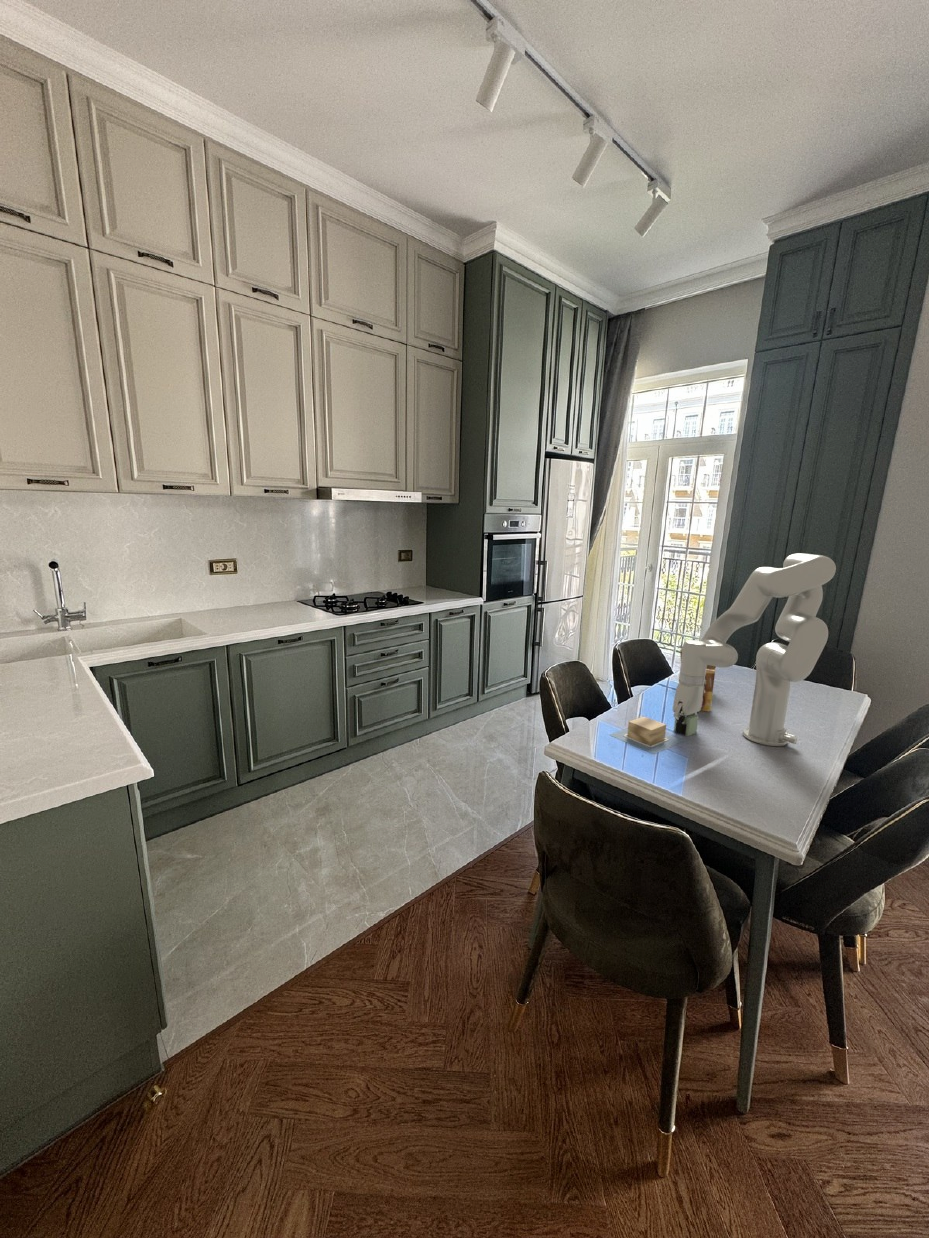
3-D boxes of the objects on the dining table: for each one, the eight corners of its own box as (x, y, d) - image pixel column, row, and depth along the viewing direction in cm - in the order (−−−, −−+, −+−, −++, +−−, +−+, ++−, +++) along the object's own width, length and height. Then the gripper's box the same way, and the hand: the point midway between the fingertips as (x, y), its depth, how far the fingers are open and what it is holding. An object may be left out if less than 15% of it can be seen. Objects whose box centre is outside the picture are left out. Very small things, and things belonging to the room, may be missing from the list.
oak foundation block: (664, 739, 158) (666, 724, 157) (649, 745, 153) (651, 730, 152) (642, 730, 164) (643, 716, 163) (627, 736, 160) (628, 721, 159)
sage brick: (696, 735, 165) (698, 715, 164) (687, 739, 162) (690, 718, 161) (681, 730, 169) (684, 710, 168) (673, 733, 166) (675, 713, 165)
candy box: (710, 708, 191) (715, 669, 188) (710, 712, 187) (715, 672, 184) (684, 704, 195) (689, 665, 192) (684, 707, 191) (689, 668, 188)
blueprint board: (683, 744, 158) (683, 740, 157) (653, 757, 148) (654, 753, 148) (638, 727, 170) (638, 723, 170) (608, 738, 161) (608, 734, 160)
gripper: (694, 672, 170) (687, 723, 173) (666, 680, 160) (659, 734, 163) (716, 678, 164) (709, 730, 168) (688, 686, 154) (681, 742, 157)
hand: (684, 731), depth 165 cm, fingers closed on sage brick, 5 cm apart
